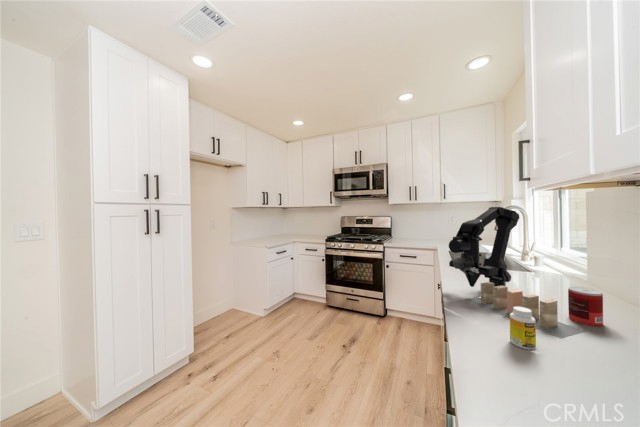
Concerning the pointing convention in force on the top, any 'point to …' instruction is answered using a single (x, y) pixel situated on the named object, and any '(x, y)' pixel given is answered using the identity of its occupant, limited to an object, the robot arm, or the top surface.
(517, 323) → the supplement bottle
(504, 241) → the robot arm
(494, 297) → the domino
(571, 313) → the canned food
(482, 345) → the top surface
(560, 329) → the mat
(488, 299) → the domino
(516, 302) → the domino
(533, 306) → the domino
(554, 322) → the wooden block
